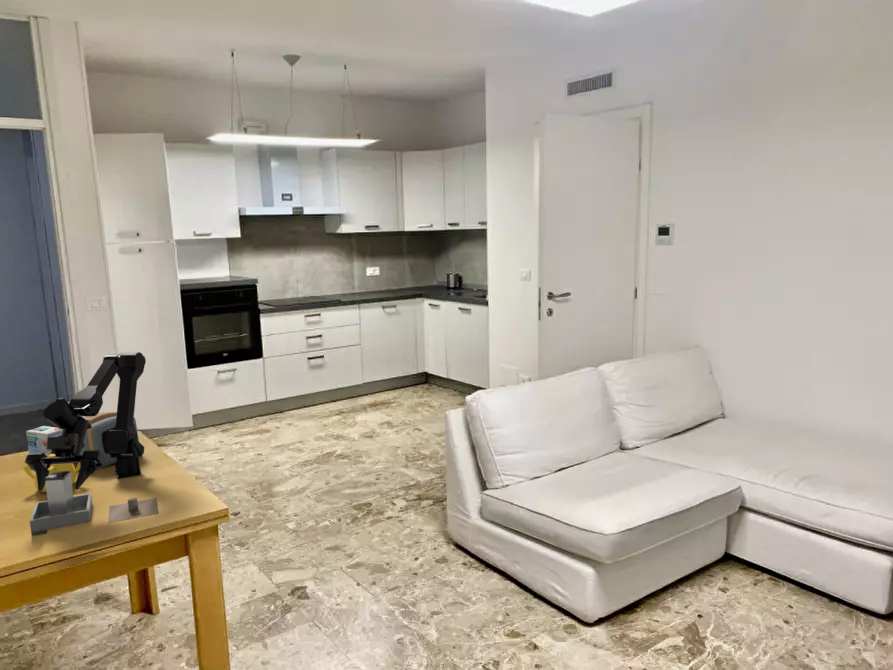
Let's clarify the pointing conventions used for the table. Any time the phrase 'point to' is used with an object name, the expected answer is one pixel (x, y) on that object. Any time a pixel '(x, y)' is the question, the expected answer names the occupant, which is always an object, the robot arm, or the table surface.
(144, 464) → the table surface
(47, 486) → the strut
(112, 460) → the grey toaster
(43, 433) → the light bulb box
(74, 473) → the teapot
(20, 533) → the table surface
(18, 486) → the table surface
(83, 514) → the bin
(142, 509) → the stud base
